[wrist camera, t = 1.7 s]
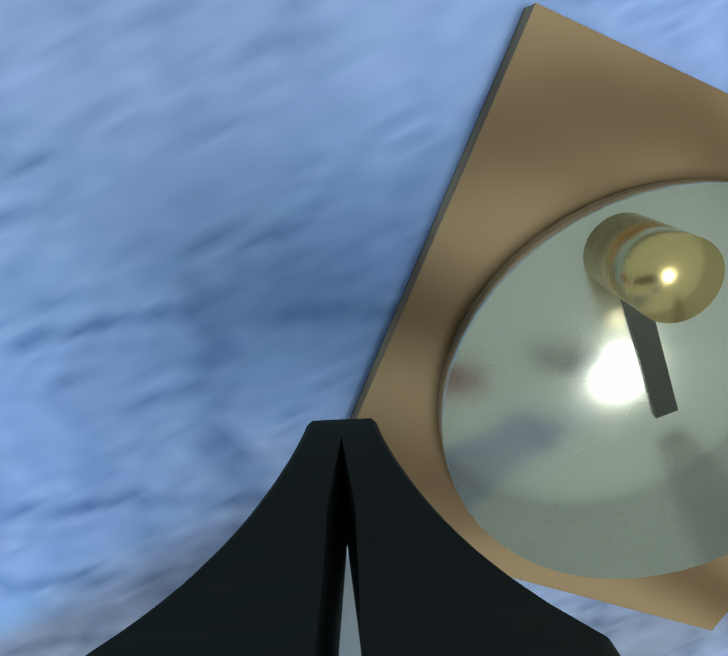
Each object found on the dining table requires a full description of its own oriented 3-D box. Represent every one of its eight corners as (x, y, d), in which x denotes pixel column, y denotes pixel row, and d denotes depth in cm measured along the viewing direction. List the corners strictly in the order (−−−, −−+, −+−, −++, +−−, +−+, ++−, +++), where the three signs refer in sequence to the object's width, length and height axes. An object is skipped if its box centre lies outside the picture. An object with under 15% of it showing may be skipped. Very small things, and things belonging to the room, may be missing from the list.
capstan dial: (881, 477, 23) (994, 555, 19) (514, 607, 24) (547, 702, 21) (846, 91, 17) (1000, 87, 13) (368, 300, 19) (376, 352, 15)
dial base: (698, 612, 27) (731, 657, 25) (312, 507, 24) (309, 549, 21) (1006, 234, 20) (1088, 250, 18) (524, 8, 17) (553, -6, 14)
